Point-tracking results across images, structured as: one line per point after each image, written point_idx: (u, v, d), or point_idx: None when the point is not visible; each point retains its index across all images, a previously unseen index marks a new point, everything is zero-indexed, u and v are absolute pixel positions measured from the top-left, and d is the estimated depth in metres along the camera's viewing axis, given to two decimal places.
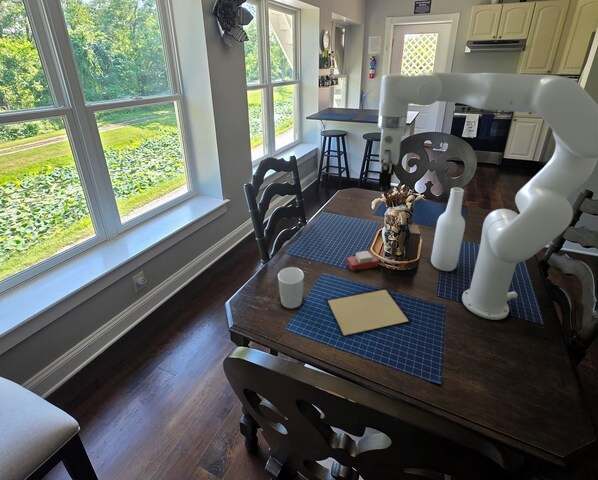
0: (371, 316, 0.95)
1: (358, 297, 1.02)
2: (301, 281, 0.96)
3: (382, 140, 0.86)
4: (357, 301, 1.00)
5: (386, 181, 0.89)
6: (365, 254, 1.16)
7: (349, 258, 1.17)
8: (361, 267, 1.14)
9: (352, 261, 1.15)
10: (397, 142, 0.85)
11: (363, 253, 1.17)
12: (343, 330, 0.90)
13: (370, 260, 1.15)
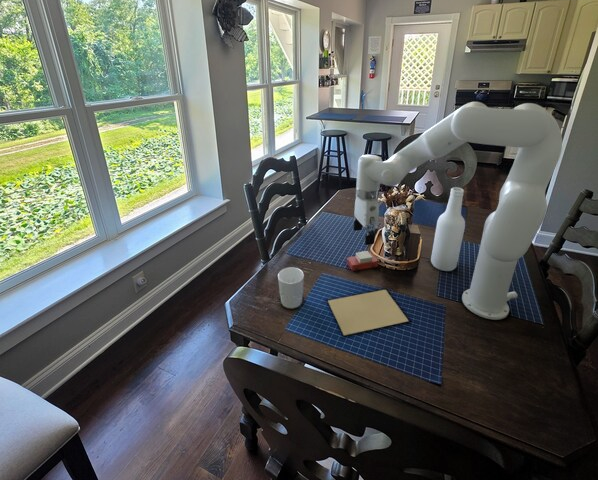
0: (371, 316, 0.95)
1: (358, 297, 1.02)
2: (301, 281, 0.96)
3: (367, 210, 1.03)
4: (357, 301, 1.00)
5: (372, 241, 1.07)
6: (365, 254, 1.16)
7: (349, 258, 1.17)
8: (361, 267, 1.14)
9: (352, 261, 1.15)
10: (378, 209, 1.04)
11: (363, 253, 1.17)
12: (343, 330, 0.90)
13: (370, 260, 1.15)
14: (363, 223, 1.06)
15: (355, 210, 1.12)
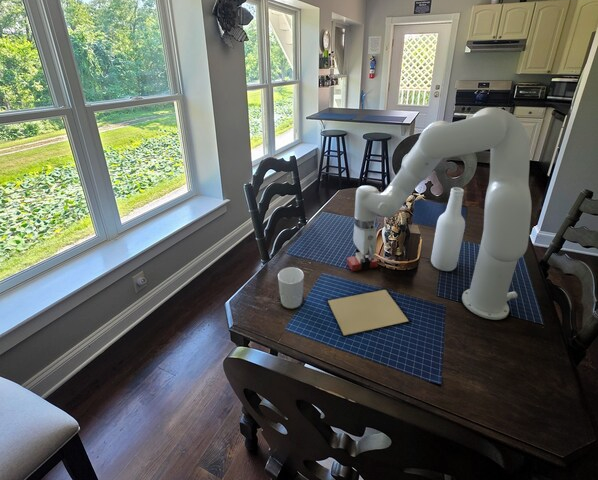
0: (371, 316, 0.95)
1: (358, 297, 1.02)
2: (301, 281, 0.96)
3: (365, 239, 1.08)
4: (357, 301, 1.00)
5: (368, 267, 1.13)
6: None
7: (349, 258, 1.17)
8: None
9: (352, 261, 1.15)
10: (376, 238, 1.08)
11: None
12: (343, 330, 0.90)
13: None
14: (362, 251, 1.11)
15: (354, 237, 1.16)
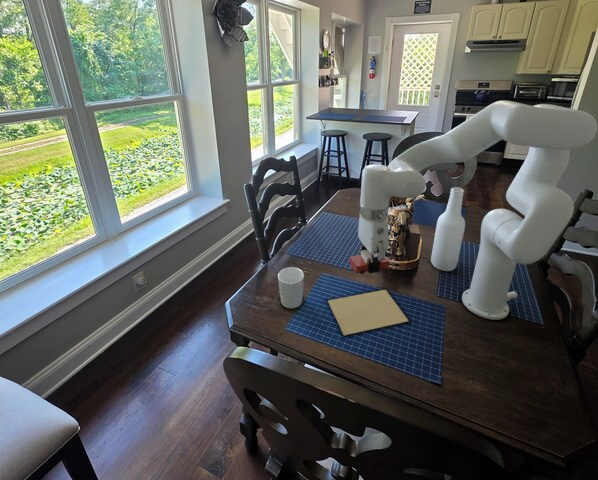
0: (371, 316, 0.95)
1: (358, 297, 1.02)
2: (301, 281, 0.96)
3: (374, 233, 0.84)
4: (357, 301, 1.00)
5: (377, 268, 0.90)
6: None
7: (353, 257, 0.93)
8: None
9: (357, 262, 0.91)
10: (387, 232, 0.85)
11: None
12: (343, 330, 0.90)
13: None
14: (369, 248, 0.87)
15: (359, 231, 0.92)
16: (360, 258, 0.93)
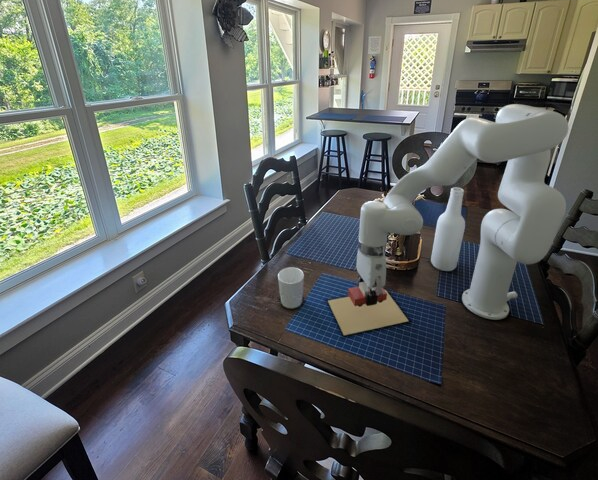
0: (371, 316, 0.95)
1: None
2: (301, 281, 0.96)
3: (372, 268, 0.85)
4: None
5: (375, 301, 0.91)
6: None
7: (351, 289, 0.95)
8: None
9: (355, 294, 0.93)
10: (385, 267, 0.86)
11: None
12: (343, 330, 0.90)
13: None
14: (367, 282, 0.88)
15: (357, 264, 0.94)
16: (358, 290, 0.94)
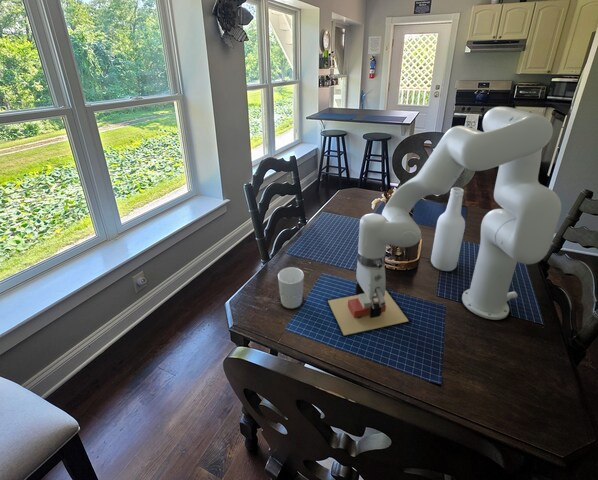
0: None
1: None
2: (301, 281, 0.96)
3: (371, 280, 0.87)
4: None
5: (378, 313, 0.90)
6: None
7: (350, 301, 0.96)
8: (365, 313, 0.94)
9: (355, 306, 0.94)
10: (385, 278, 0.88)
11: None
12: (343, 330, 0.90)
13: None
14: (367, 293, 0.90)
15: (357, 274, 0.95)
16: (358, 302, 0.96)
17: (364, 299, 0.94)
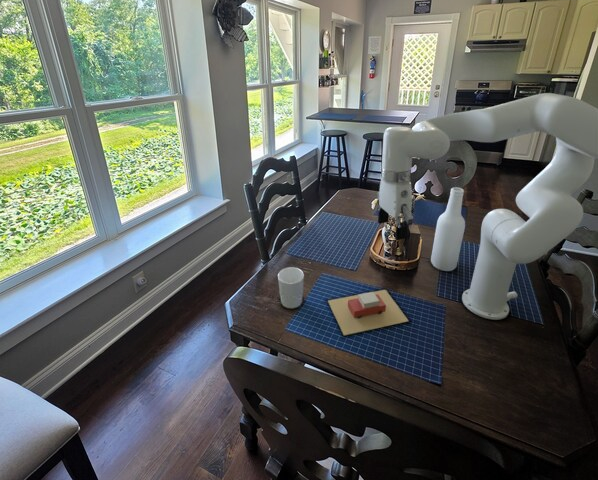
0: (371, 316, 0.95)
1: None
2: (301, 281, 0.96)
3: (398, 196, 0.82)
4: None
5: (404, 234, 0.86)
6: (370, 297, 0.95)
7: (350, 301, 0.96)
8: (365, 313, 0.94)
9: (355, 306, 0.94)
10: (411, 194, 0.83)
11: (367, 295, 0.96)
12: (343, 330, 0.90)
13: (376, 304, 0.94)
14: (392, 213, 0.85)
15: (380, 198, 0.91)
16: (358, 302, 0.96)
17: (364, 299, 0.94)
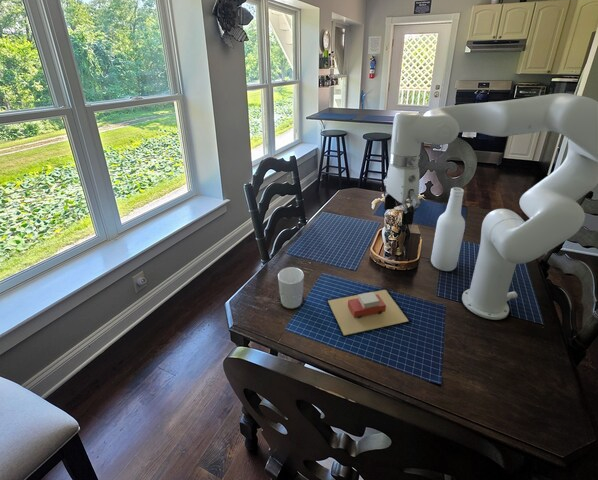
0: (371, 316, 0.95)
1: None
2: (301, 281, 0.96)
3: (405, 180, 0.83)
4: None
5: (411, 219, 0.87)
6: (370, 297, 0.95)
7: (350, 301, 0.96)
8: (365, 313, 0.94)
9: (355, 306, 0.94)
10: (419, 180, 0.84)
11: (367, 295, 0.96)
12: (343, 330, 0.90)
13: (376, 304, 0.94)
14: (399, 198, 0.86)
15: (387, 184, 0.92)
16: (358, 302, 0.96)
17: (364, 299, 0.94)
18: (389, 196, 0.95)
